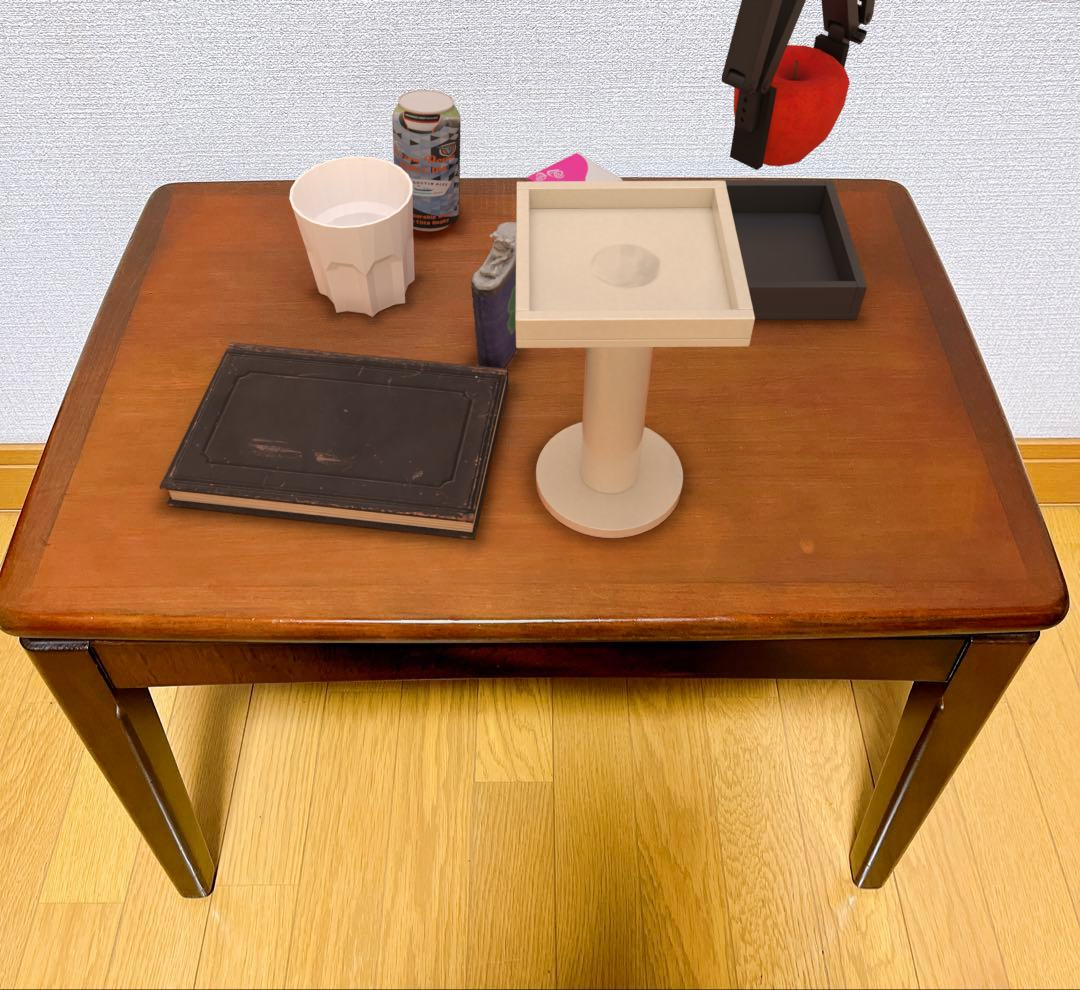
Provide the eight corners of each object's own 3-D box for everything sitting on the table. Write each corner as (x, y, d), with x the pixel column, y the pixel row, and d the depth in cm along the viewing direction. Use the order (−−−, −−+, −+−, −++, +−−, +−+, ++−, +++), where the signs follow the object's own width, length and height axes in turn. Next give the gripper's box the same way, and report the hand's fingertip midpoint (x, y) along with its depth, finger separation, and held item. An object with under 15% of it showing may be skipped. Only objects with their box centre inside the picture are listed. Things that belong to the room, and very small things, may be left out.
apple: (841, 185, 81) (864, 92, 75) (730, 184, 81) (745, 91, 75) (823, 125, 87) (843, 35, 81) (720, 124, 87) (733, 34, 81)
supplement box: (575, 260, 93) (579, 148, 84) (619, 292, 90) (627, 180, 81) (526, 286, 91) (525, 174, 82) (569, 320, 88) (573, 207, 79)
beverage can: (388, 236, 95) (372, 118, 86) (413, 192, 100) (400, 76, 91) (452, 246, 95) (442, 128, 85) (474, 201, 99) (467, 84, 90)
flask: (502, 303, 89) (499, 198, 81) (534, 308, 89) (534, 204, 81) (472, 373, 84) (465, 269, 75) (506, 380, 83) (503, 276, 75)
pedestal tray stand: (687, 416, 81) (725, 180, 64) (706, 550, 72) (755, 318, 56) (521, 417, 80) (516, 181, 64) (521, 551, 72) (515, 319, 56)
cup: (406, 329, 87) (394, 233, 79) (295, 316, 88) (272, 220, 81) (435, 258, 93) (425, 162, 86) (330, 246, 94) (312, 151, 87)
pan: (824, 212, 98) (833, 180, 95) (856, 319, 88) (867, 286, 85) (663, 212, 98) (666, 180, 95) (677, 319, 88) (681, 287, 85)
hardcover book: (474, 540, 73) (473, 520, 71) (167, 506, 75) (158, 486, 73) (509, 384, 83) (508, 364, 81) (237, 358, 85) (231, 337, 83)
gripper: (886, -228, 72) (820, 75, 89) (693, -152, 62) (660, 173, 80) (981, -205, 69) (893, 106, 86) (793, -119, 59) (736, 212, 76)
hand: (781, 138), depth 83 cm, fingers closed on apple, 9 cm apart
